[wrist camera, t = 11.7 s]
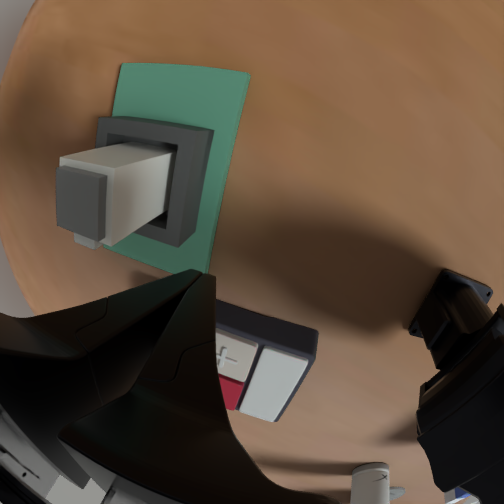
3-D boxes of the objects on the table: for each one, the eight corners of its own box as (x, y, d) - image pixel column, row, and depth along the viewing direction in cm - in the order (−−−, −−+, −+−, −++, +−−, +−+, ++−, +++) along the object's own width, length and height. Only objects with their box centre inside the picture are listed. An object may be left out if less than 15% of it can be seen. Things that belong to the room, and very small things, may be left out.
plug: (180, 151, 18) (106, 171, 11) (170, 214, 20) (104, 262, 13) (132, 141, 18) (51, 159, 11) (125, 201, 20) (54, 239, 13)
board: (250, 75, 16) (234, 63, 13) (206, 277, 24) (188, 304, 20) (129, 64, 17) (97, 58, 14) (109, 243, 25) (82, 261, 21)
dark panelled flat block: (137, 296, 22) (316, 363, 20) (163, 273, 26) (320, 329, 24) (141, 375, 27) (275, 429, 25) (159, 351, 31) (283, 398, 29)
